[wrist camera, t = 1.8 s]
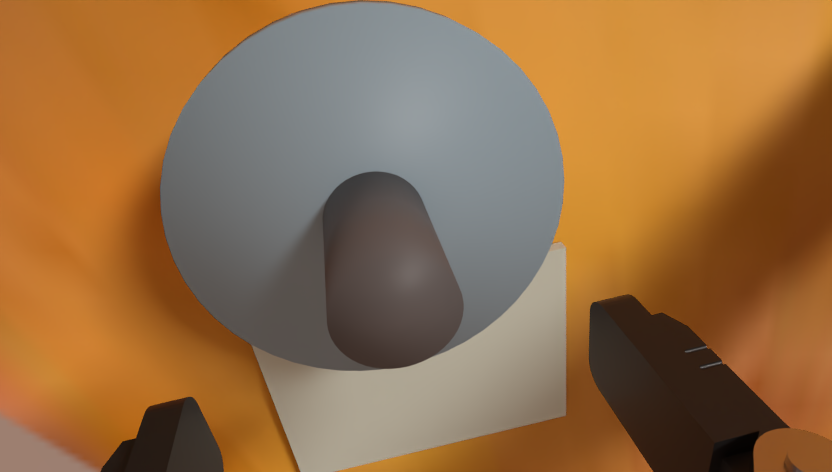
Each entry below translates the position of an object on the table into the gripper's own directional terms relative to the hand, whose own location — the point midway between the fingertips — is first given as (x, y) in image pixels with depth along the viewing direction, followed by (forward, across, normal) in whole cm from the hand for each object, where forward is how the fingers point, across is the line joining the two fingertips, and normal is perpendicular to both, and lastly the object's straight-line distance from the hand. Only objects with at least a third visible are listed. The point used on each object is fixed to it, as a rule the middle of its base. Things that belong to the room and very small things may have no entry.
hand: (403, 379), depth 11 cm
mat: (+14, -1, +13) cm, 19 cm away
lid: (+8, 0, 0) cm, 8 cm away
